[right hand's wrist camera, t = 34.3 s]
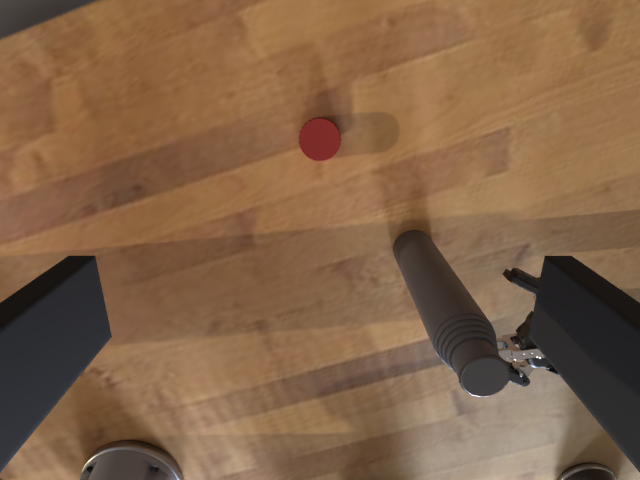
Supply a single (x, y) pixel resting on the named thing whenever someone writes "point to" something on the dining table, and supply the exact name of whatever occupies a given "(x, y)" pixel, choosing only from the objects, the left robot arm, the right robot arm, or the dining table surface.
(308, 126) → the cap
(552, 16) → the dining table surface
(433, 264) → the bottle
